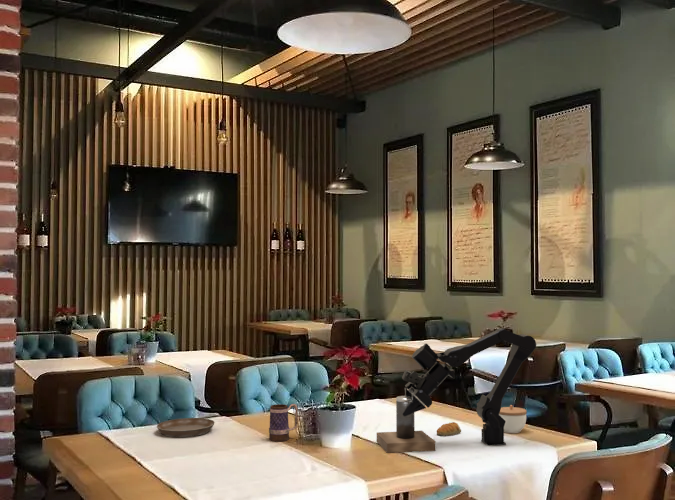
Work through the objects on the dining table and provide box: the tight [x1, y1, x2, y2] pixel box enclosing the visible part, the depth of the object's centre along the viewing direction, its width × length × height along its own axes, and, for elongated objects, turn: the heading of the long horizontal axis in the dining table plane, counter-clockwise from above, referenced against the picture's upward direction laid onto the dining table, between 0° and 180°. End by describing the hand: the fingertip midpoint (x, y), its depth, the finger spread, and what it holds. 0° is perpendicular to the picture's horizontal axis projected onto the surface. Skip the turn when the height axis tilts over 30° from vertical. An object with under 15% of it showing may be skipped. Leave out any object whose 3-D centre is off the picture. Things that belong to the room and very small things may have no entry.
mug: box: [268, 403, 299, 443], centre depth 256 cm, size 10×7×12 cm
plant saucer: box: [156, 417, 216, 438], centre depth 269 cm, size 21×21×3 cm
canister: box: [395, 395, 416, 439], centre depth 246 cm, size 6×6×13 cm
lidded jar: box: [499, 404, 527, 434], centre depth 267 cm, size 11×11×9 cm
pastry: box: [436, 421, 462, 437], centre depth 263 cm, size 9×7×4 cm
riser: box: [376, 430, 436, 454], centre depth 246 cm, size 16×16×3 cm
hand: (400, 412), depth 246 cm, fingers open, 9 cm apart
